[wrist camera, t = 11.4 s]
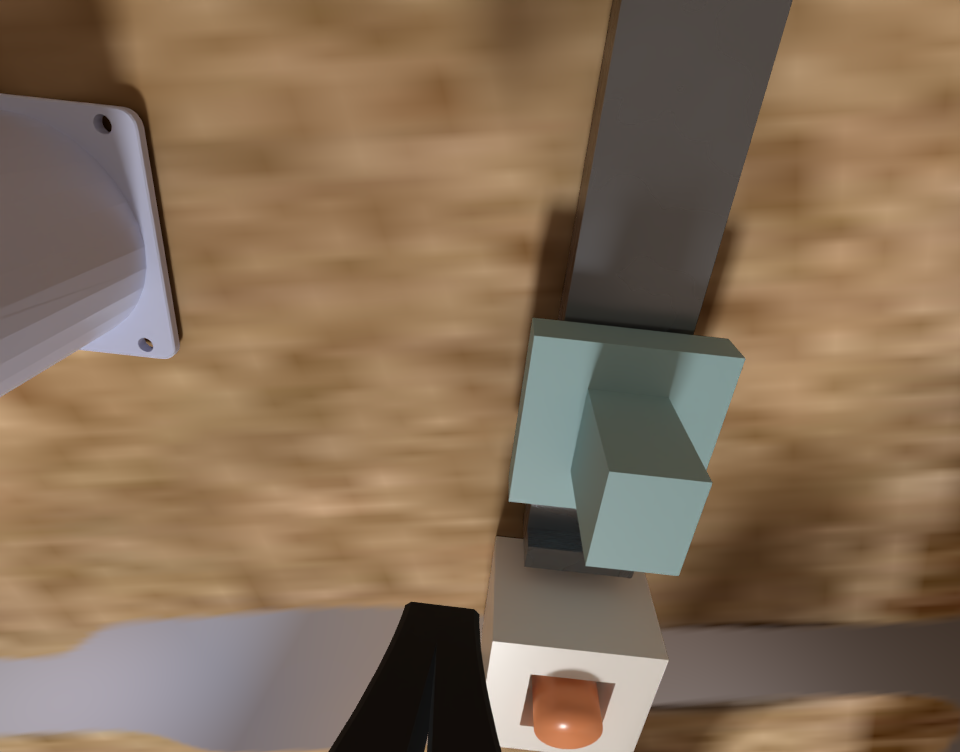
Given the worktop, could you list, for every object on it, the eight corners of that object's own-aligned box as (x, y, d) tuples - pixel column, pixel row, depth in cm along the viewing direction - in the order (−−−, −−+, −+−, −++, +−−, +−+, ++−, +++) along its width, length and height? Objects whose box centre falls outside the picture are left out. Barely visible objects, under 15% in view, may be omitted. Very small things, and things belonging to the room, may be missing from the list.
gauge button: (527, 691, 22) (529, 745, 20) (536, 651, 21) (538, 704, 19) (588, 698, 22) (595, 752, 20) (600, 658, 21) (609, 712, 19)
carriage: (508, 475, 20) (508, 599, 15) (532, 317, 17) (541, 407, 12) (677, 493, 20) (730, 623, 15) (728, 338, 17) (814, 436, 12)
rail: (522, 520, 23) (524, 566, 21) (698, -496, 11) (746, -645, 9) (619, 530, 23) (632, 578, 21) (902, -474, 11) (1001, -617, 9)
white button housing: (481, 632, 26) (475, 744, 22) (496, 536, 23) (492, 641, 19) (609, 646, 26) (629, 760, 22) (638, 551, 23) (668, 660, 19)
